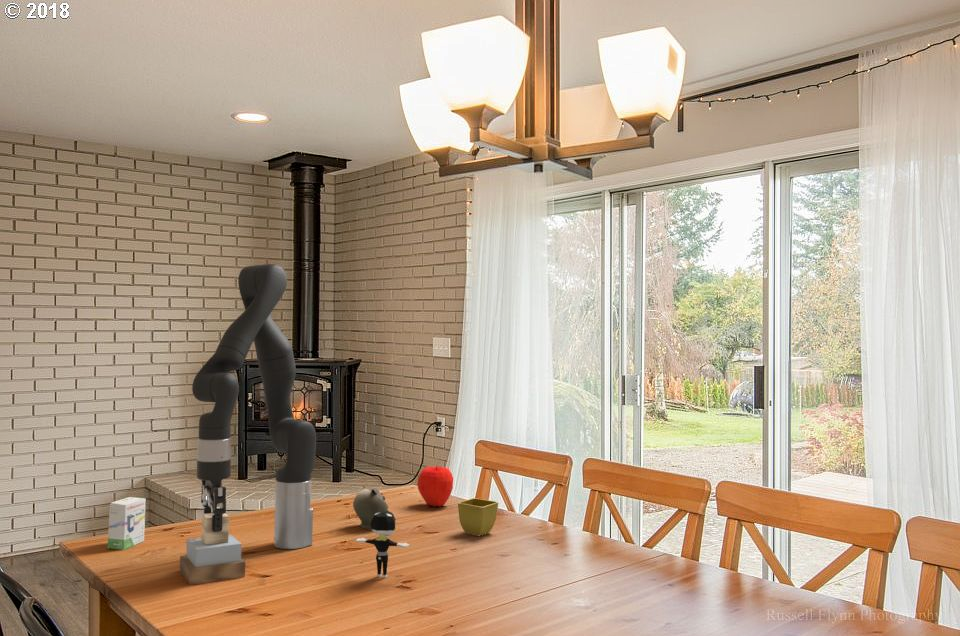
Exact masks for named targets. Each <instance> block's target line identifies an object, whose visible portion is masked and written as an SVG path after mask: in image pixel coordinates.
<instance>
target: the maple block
mask: <svg viewBox="0 0 960 636" xmlns="http://www.w3.org/2000/svg"><path fill="white" fill-rule="evenodd" d="M201 518H202V519H201V538H202V541H203V542H204V543H205V544H206V545H207V544H217V543H226V542H228V534H230V533H229V529H230V528H229V527H230V526H229V525H230V515H228V514H227V513H224V514H223V516H222V531H220V532H213V531H212V514H211V513H208V514H204V513H202V515H201Z"/></svg>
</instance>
